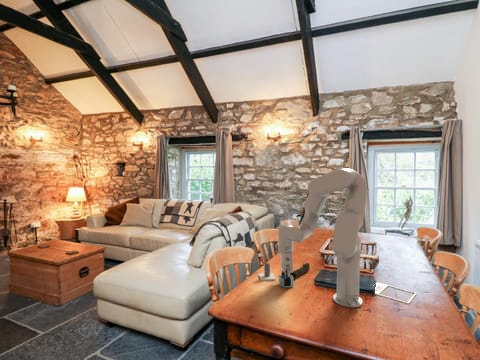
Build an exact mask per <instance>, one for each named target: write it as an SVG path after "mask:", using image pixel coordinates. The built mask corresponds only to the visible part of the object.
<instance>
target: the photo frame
mask: <svg viewBox="0 0 480 360" xmlns="http://www.w3.org/2000/svg"><path fill="white" fill-rule="evenodd" d="M375 284H376V287H375V294H374V295H376V296H380V297H382V298H386V299H389V300H393V301H396V302H399V303H403V304H406V305H410V303H411V302H412V301H413V300H414V298H415V297H416V296H417V294H418V292H416V291H415V292H414V291H412V290H407V289H404V288H401V287H396V286H393V285H390V284H386V283H381V282H378V281H377V282H375ZM388 287H389V288H392V289H396V290H399V291H403V292H407V293H410V294H412V296H411V298H409V299H408V301H405V300H402V299H397V298H394V297H391V296H388V295H385V294H382V293H383V292H384V291H385V290H386V289H387V288H388Z"/></svg>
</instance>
